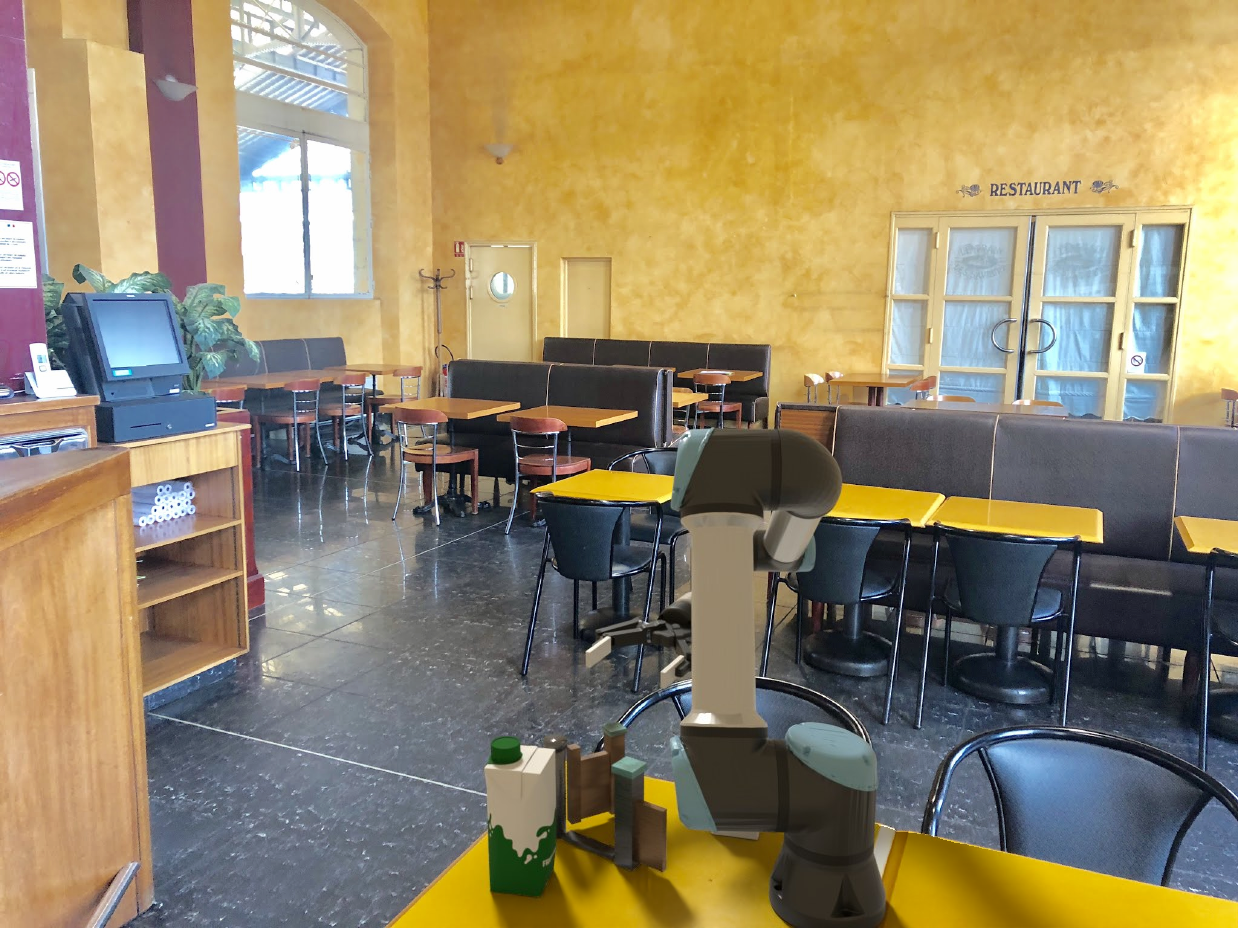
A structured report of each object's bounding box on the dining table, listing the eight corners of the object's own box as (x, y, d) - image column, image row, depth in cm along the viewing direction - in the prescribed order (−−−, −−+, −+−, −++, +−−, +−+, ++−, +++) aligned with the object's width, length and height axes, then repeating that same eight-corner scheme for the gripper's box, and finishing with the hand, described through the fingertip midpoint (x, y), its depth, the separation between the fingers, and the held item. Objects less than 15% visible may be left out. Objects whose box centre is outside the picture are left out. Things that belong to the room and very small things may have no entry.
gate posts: (671, 871, 132) (672, 770, 130) (657, 883, 129) (657, 781, 127) (554, 824, 145) (553, 732, 142) (539, 834, 142) (538, 740, 140)
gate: (617, 803, 149) (617, 721, 147) (626, 811, 146) (626, 728, 144) (565, 817, 144) (564, 733, 142) (573, 826, 142) (572, 741, 140)
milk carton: (502, 858, 135) (499, 727, 132) (562, 866, 134) (561, 732, 131) (481, 894, 127) (477, 754, 124) (545, 902, 125) (544, 761, 122)
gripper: (751, 656, 159) (695, 711, 142) (624, 624, 172) (558, 672, 154) (752, 615, 158) (696, 666, 140) (624, 586, 170) (557, 630, 152)
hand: (624, 669), depth 147 cm, fingers open, 13 cm apart
